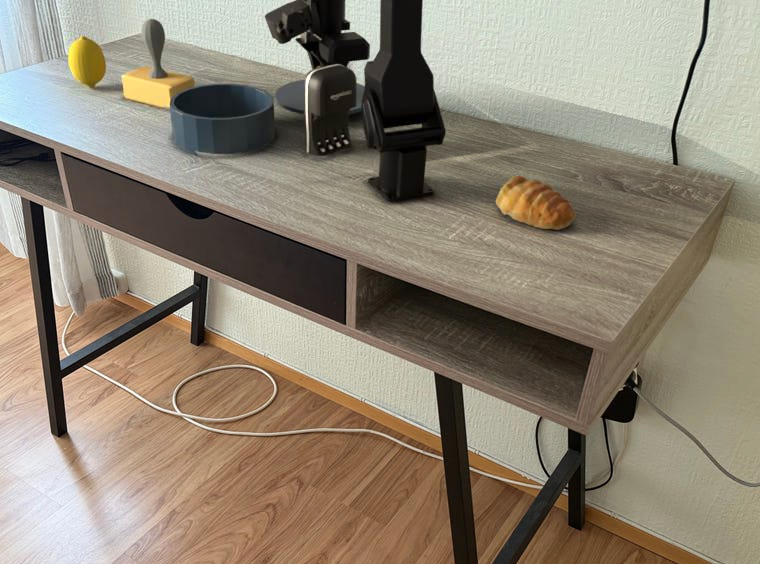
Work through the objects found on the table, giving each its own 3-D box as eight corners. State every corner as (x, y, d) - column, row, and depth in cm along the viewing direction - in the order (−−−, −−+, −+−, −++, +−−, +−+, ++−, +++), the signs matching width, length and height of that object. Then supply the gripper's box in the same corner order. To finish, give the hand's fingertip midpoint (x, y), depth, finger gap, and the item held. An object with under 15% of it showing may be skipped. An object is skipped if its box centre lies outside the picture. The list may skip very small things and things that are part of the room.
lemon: (66, 91, 130) (57, 39, 125) (85, 80, 134) (76, 29, 129) (97, 95, 128) (89, 43, 123) (115, 84, 133) (108, 33, 128)
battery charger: (320, 163, 110) (320, 78, 103) (302, 154, 112) (301, 70, 105) (359, 150, 114) (361, 67, 107) (341, 142, 116) (342, 60, 109)
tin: (288, 149, 113) (288, 111, 110) (188, 163, 109) (184, 125, 105) (256, 114, 124) (254, 79, 121) (163, 126, 119) (159, 89, 116)
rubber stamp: (197, 100, 128) (190, 20, 120) (173, 111, 124) (164, 29, 116) (148, 88, 131) (138, 9, 124) (123, 98, 127) (111, 18, 120)
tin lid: (390, 113, 121) (392, 77, 118) (295, 126, 116) (295, 89, 113) (350, 81, 132) (350, 48, 129) (261, 92, 127) (260, 58, 124)
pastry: (584, 221, 98) (590, 192, 96) (552, 240, 94) (558, 210, 92) (520, 195, 104) (525, 167, 101) (488, 212, 100) (491, 183, 97)
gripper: (249, -30, 118) (254, 79, 127) (294, 1, 104) (296, 121, 113) (320, -34, 121) (320, 72, 131) (373, -5, 108) (369, 111, 117)
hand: (324, 92), depth 123 cm, fingers closed on tin lid, 2 cm apart
